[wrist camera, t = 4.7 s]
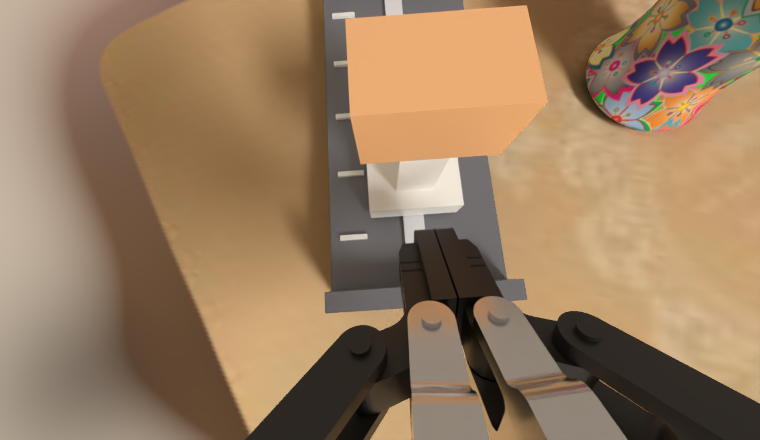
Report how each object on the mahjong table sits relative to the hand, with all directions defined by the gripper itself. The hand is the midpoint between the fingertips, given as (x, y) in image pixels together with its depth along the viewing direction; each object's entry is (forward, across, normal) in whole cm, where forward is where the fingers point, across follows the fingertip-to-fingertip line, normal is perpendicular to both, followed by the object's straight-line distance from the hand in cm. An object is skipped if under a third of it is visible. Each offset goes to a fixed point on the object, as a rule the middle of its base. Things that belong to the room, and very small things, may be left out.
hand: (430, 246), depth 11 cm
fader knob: (+6, 0, 0) cm, 6 cm away
